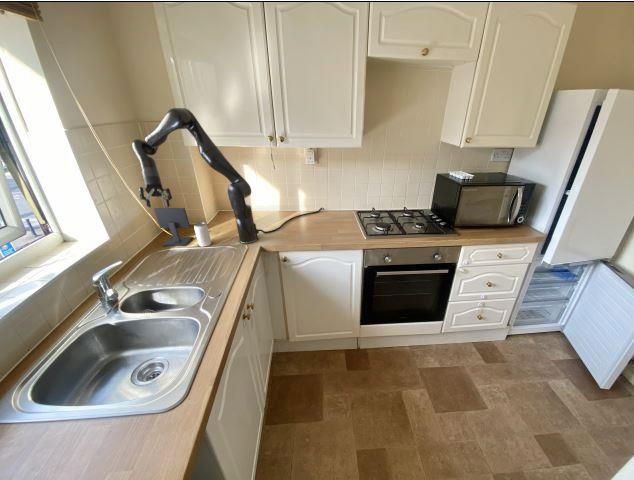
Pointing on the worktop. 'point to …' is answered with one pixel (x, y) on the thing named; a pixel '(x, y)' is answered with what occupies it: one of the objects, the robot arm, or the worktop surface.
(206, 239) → the can
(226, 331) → the worktop surface
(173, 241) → the monitor stand
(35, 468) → the worktop surface
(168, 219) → the screen
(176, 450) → the worktop surface
